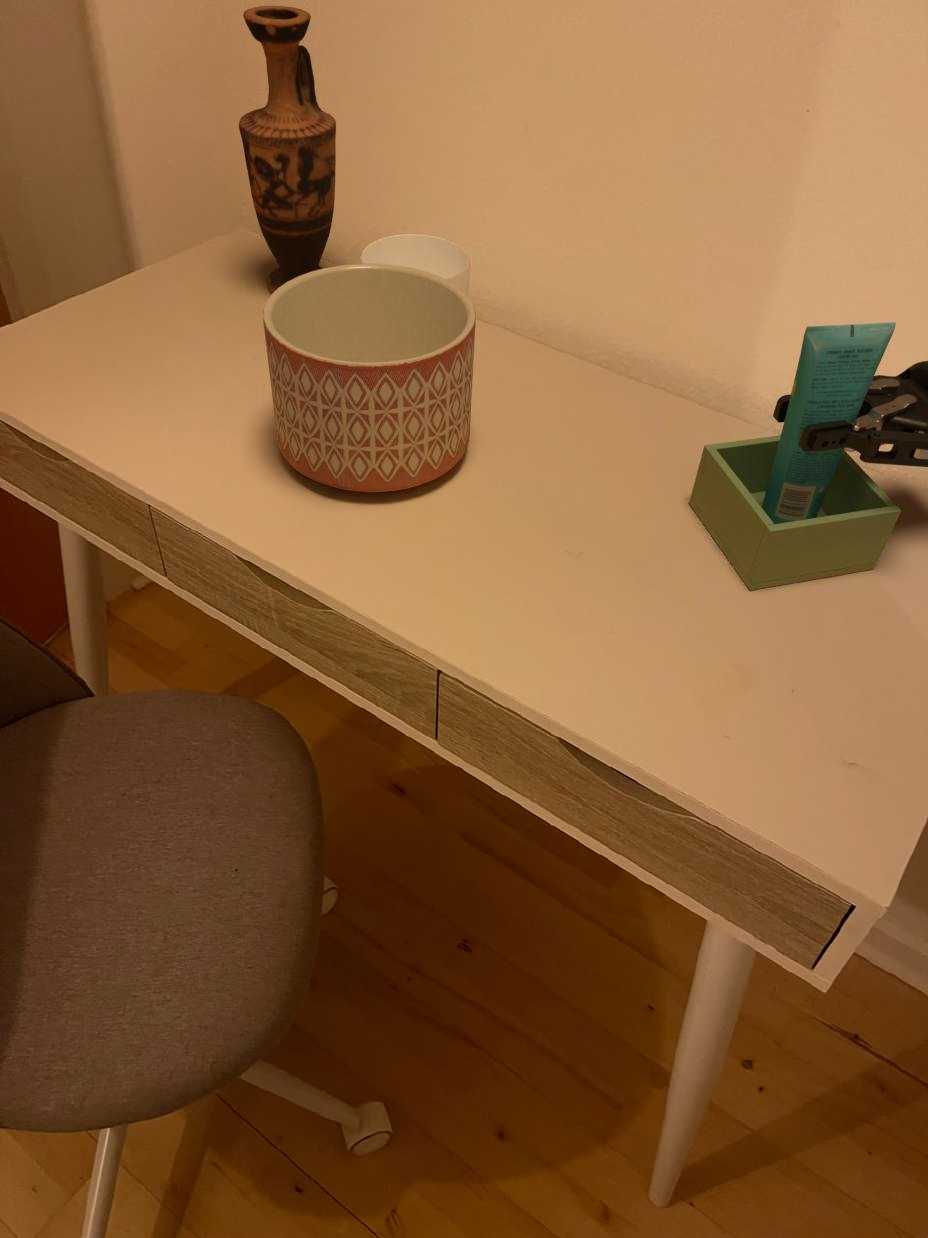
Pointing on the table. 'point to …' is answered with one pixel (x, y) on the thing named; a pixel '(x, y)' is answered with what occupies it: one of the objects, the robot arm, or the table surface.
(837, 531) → the basket
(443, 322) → the planter
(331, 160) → the vase
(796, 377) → the tube
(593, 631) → the table surface
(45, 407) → the table surface
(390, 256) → the cup
